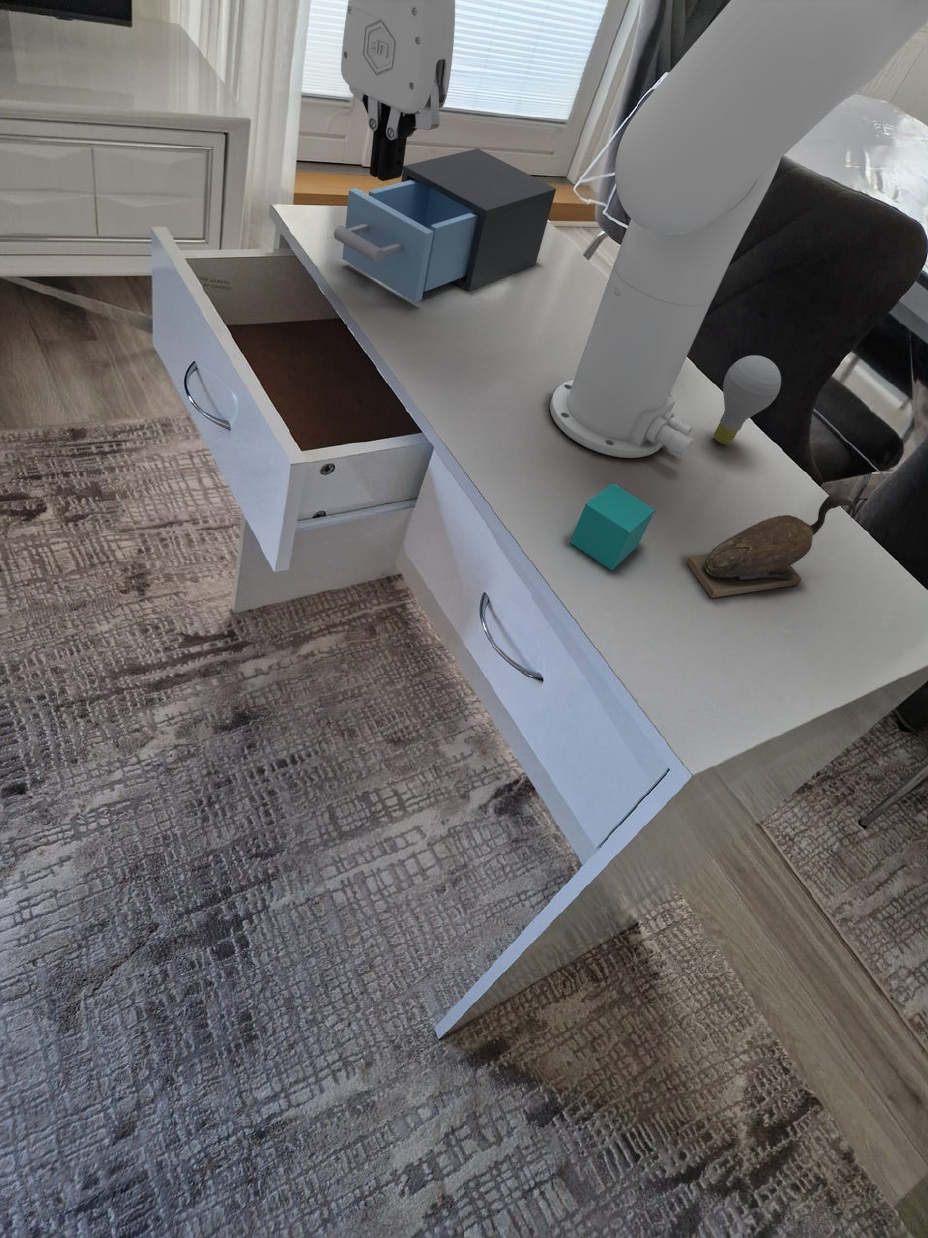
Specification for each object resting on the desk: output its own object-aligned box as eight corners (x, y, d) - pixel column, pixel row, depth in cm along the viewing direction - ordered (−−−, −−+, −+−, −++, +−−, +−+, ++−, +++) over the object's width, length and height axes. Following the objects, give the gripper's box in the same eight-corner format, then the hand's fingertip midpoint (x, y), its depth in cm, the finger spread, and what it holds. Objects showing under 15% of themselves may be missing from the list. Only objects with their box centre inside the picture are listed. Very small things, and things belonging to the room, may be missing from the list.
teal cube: (636, 547, 72) (655, 509, 69) (611, 571, 70) (630, 532, 66) (595, 520, 74) (612, 482, 70) (569, 542, 71) (585, 503, 68)
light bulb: (719, 462, 84) (764, 378, 77) (686, 430, 87) (727, 347, 80) (755, 453, 87) (802, 371, 80) (721, 423, 90) (764, 341, 82)
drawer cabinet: (468, 291, 98) (486, 210, 91) (391, 246, 102) (403, 165, 95) (535, 264, 107) (556, 188, 100) (462, 223, 111) (477, 147, 104)
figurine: (804, 547, 78) (854, 475, 71) (832, 580, 75) (887, 509, 69) (684, 562, 72) (727, 486, 66) (710, 599, 70) (757, 524, 64)
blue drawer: (386, 313, 89) (397, 243, 83) (312, 267, 92) (317, 197, 87) (485, 274, 100) (500, 209, 94) (416, 235, 104) (426, 170, 98)
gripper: (317, -77, 70) (307, 153, 83) (449, -23, 65) (416, 212, 78) (376, -74, 75) (358, 143, 88) (504, -24, 70) (464, 198, 83)
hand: (385, 175), depth 83 cm, fingers closed
